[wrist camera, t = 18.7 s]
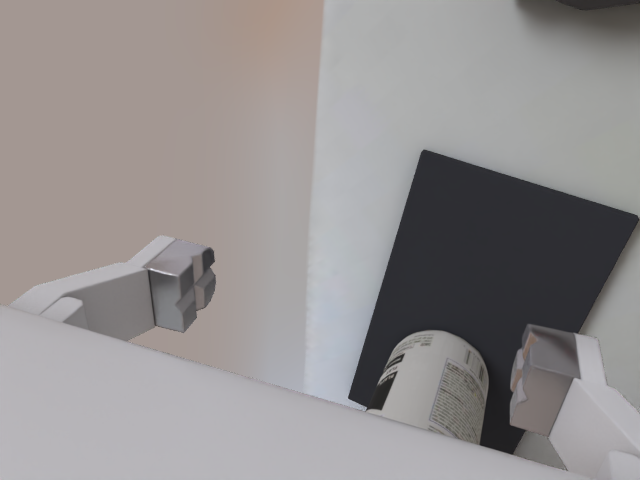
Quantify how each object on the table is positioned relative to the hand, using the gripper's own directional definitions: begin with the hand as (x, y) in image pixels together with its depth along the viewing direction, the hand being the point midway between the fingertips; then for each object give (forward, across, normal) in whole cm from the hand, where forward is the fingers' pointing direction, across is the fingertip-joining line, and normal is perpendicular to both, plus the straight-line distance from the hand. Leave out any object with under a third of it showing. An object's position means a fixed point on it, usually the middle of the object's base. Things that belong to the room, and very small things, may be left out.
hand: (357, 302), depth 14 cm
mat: (+18, -4, +14) cm, 23 cm away
